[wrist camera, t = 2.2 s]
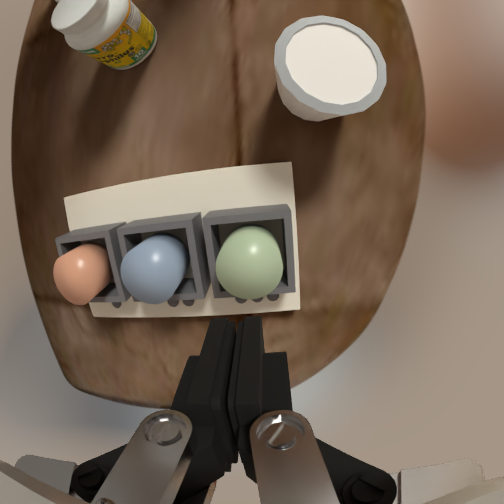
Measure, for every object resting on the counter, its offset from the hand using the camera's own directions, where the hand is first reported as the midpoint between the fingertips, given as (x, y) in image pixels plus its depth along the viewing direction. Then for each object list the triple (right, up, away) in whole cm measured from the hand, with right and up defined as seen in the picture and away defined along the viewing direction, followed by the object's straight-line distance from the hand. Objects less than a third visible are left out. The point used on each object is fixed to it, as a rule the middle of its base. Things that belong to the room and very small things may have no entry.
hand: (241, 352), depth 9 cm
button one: (-13, +2, +12) cm, 17 cm away
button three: (0, +4, +11) cm, 11 cm away
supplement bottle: (-10, +22, +9) cm, 26 cm away
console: (-6, +4, +14) cm, 16 cm away
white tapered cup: (+5, +17, +10) cm, 20 cm away
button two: (-6, +3, +11) cm, 13 cm away
